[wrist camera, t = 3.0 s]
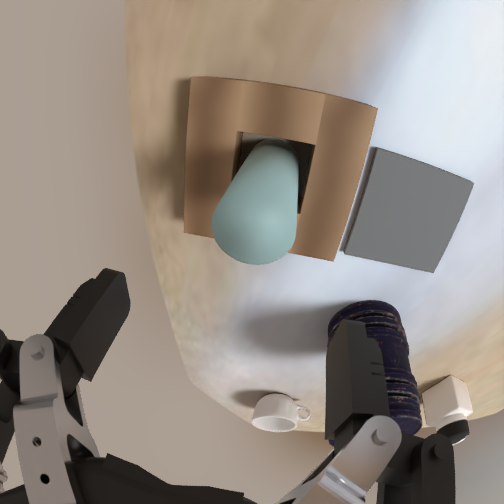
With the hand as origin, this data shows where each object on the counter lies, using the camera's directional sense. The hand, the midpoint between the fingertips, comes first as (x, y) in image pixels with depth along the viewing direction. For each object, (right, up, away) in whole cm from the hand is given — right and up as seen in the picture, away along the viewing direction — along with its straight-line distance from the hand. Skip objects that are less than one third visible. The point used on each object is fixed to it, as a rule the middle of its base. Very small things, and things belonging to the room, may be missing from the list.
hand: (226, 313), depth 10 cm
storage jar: (+15, -7, +24) cm, 30 cm away
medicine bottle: (+37, -23, +31) cm, 54 cm away
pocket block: (+3, +10, +15) cm, 18 cm away
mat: (+16, +6, +15) cm, 23 cm away
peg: (+3, +10, +15) cm, 18 cm away
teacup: (+7, -24, +37) cm, 45 cm away
